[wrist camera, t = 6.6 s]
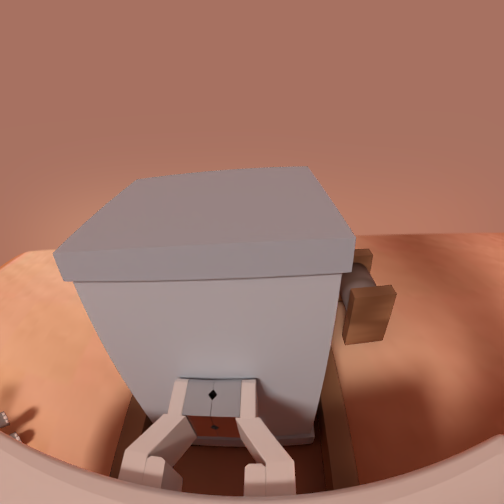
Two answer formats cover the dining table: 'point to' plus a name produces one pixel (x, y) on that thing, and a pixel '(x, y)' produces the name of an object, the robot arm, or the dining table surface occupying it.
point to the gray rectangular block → (217, 287)
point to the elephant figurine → (2, 421)
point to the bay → (331, 399)
